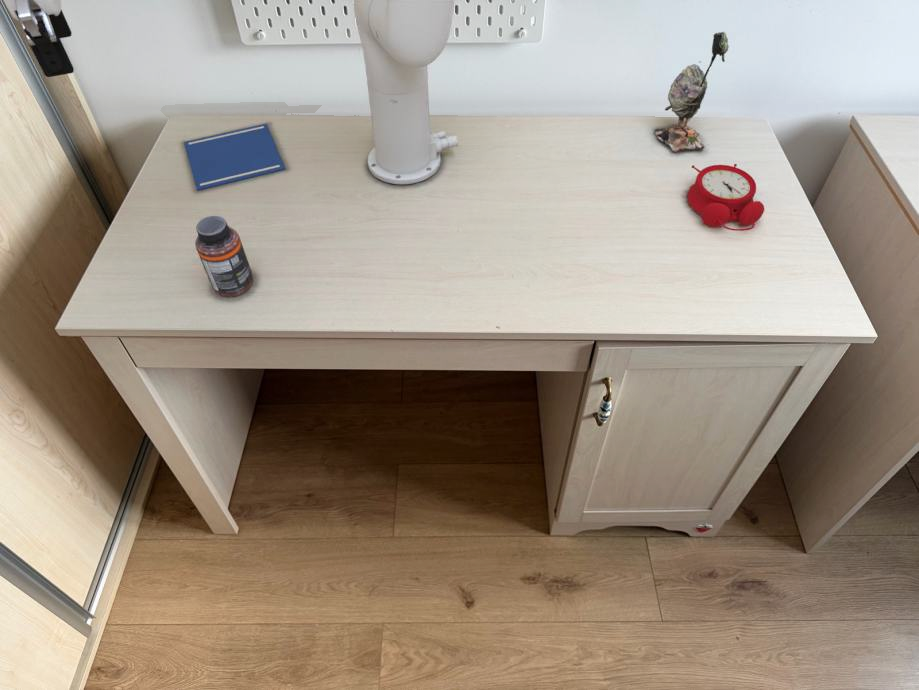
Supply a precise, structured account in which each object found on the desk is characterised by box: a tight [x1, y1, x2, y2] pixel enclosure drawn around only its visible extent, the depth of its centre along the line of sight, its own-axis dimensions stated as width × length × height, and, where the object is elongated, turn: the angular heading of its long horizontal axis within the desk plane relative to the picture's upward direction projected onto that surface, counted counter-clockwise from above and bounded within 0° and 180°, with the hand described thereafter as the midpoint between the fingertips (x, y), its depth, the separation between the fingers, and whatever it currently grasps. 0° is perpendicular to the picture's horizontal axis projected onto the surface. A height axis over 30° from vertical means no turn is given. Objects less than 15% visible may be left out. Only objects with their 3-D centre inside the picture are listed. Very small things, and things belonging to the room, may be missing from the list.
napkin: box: [183, 123, 286, 191], centre depth 119 cm, size 15×15×1 cm
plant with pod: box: [653, 31, 730, 153], centre depth 114 cm, size 8×11×20 cm
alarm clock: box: [686, 163, 765, 232], centre depth 107 cm, size 10×6×15 cm
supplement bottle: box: [194, 215, 254, 298], centre depth 94 cm, size 6×6×11 cm
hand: (59, 55), depth 83 cm, fingers open, 9 cm apart
